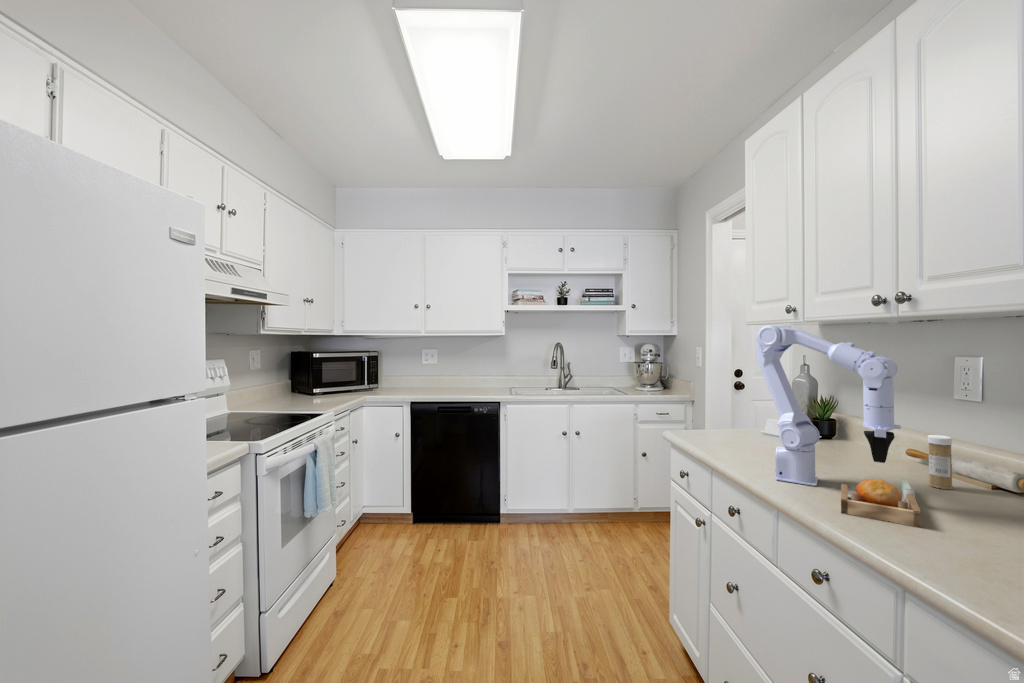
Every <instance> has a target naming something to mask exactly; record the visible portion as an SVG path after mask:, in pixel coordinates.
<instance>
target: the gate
mask: <svg viewBox="0 0 1024 683" xmlns="http://www.w3.org/2000/svg"><path fill="white" fill-rule="evenodd" d="M900 482H901V483H900V485H901V486H900V488H901V494H902V497H903V501H904V502H907V494H912V495H914V497H915V498H916V490H915V489H912V488H911V485H910V484H909V481H908V480H907V477H903V476H902V477H900Z"/></svg>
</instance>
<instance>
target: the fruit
mask: <svg viewBox="0 0 1024 683" xmlns="http://www.w3.org/2000/svg"><path fill="white" fill-rule="evenodd" d="M855 487H856V488H855V489H856V490H855V492H856V494H859V495H860V502H866V503H872V504H878V505H884V506H891V507H897V508H898V501H903V493H902V492H900V491H899V490H898V488H897V487H896V486H894V485H893V484H890V483H889V482H888V481H887V482H886V481H885V480H883V479H879V478H870V479H868V478H867V479H864V480H862V481H861V482H859V483H858V484H857V485H856V486H855Z"/></svg>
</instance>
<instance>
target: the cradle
mask: <svg viewBox="0 0 1024 683" xmlns="http://www.w3.org/2000/svg"><path fill="white" fill-rule="evenodd" d="M848 493H849V492H848V484H844V483H841V485H840V514H844V513H845V515H849V514H852V515H851V516H855V515H857V516H856V517H860V516H863V517H862V518H866V517H869V518H868V519H871V518H875V519H874V520H877V519H880V520H879V521H882V520H885V521H884V522H888V521H890V522H889V523H893V522H894V523H893V524H898V523H900V525H904V524H907V525H906V526H909V525H912V527H915V526H917V528H920V527H923V523H922V518H923V517H922V516H923V514H922V511H921V509H920V507H919V504H918V501H917V500H916V496H915V497H914V495H912V494H907V502H904V500H902V501H898V508H897V507H891V506H884V505H878V504H872V503H866V502H860V495H859V494H857V493H851V499H848Z"/></svg>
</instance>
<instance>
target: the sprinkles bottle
mask: <svg viewBox="0 0 1024 683" xmlns="http://www.w3.org/2000/svg"><path fill="white" fill-rule="evenodd" d="M927 443H928V474H929V476H928V477H929V481H928V485H929V487H932V488H935V487H936V488H935V489H939V488H941V489H940V490H947V489H949V490H953V464H952V463H953V462H952V458H953V457H952V446H953V438H952V437H951V436H948V435H942V434H941V435H940V434H928V435H927Z"/></svg>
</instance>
